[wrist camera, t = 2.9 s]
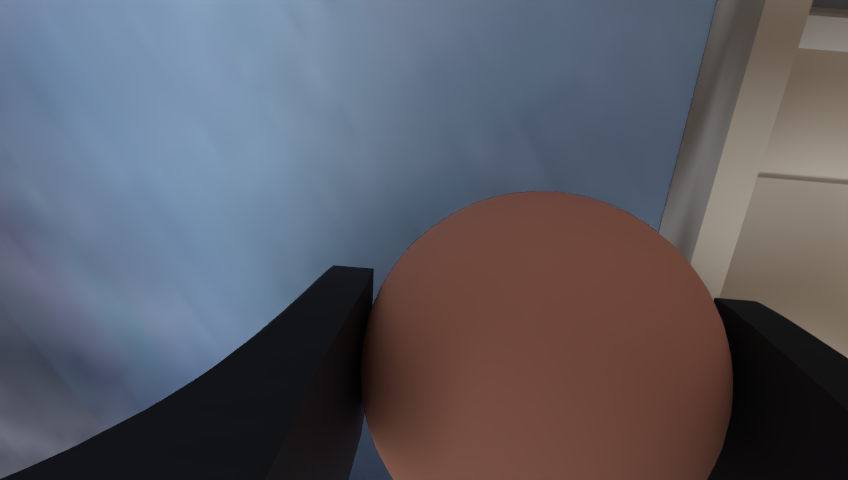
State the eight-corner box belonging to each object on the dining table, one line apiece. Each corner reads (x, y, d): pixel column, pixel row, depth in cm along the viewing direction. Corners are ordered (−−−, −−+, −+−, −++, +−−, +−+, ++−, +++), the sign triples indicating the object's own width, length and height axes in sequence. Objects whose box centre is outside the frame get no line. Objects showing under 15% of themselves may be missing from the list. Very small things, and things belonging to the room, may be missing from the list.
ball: (640, 405, 13) (728, 676, 8) (378, 379, 13) (327, 631, 8) (708, 156, 11) (878, 345, 6) (389, 128, 11) (328, 294, 6)
